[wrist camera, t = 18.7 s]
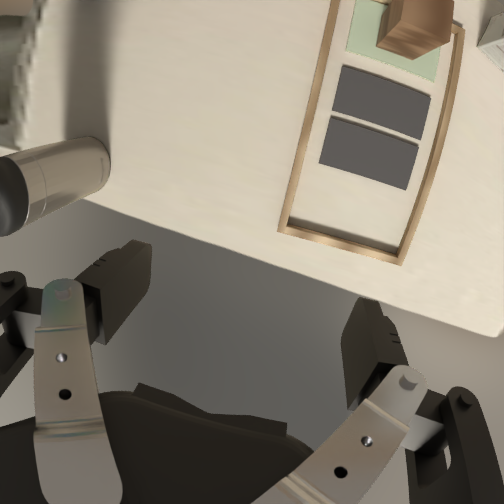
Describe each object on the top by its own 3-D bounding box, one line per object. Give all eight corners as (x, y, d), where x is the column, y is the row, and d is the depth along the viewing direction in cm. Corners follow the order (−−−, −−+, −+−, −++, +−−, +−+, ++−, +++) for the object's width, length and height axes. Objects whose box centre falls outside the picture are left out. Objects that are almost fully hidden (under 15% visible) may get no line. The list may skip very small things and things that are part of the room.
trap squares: (318, 162, 38) (318, 163, 38) (342, 66, 32) (342, 66, 32) (405, 189, 37) (405, 190, 37) (429, 98, 32) (431, 97, 31)
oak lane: (277, 228, 43) (276, 231, 41) (335, -16, 27) (335, -20, 26) (399, 262, 41) (401, 266, 40) (461, 31, 26) (465, 29, 25)
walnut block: (375, 46, 30) (400, 20, 19) (381, 14, 28) (406, -20, 17) (412, 60, 30) (449, 41, 19) (418, 28, 28) (454, 1, 17)
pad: (345, 51, 31) (345, 50, 31) (356, -3, 28) (356, -4, 27) (433, 82, 31) (434, 82, 30) (441, 29, 27) (443, 28, 27)
